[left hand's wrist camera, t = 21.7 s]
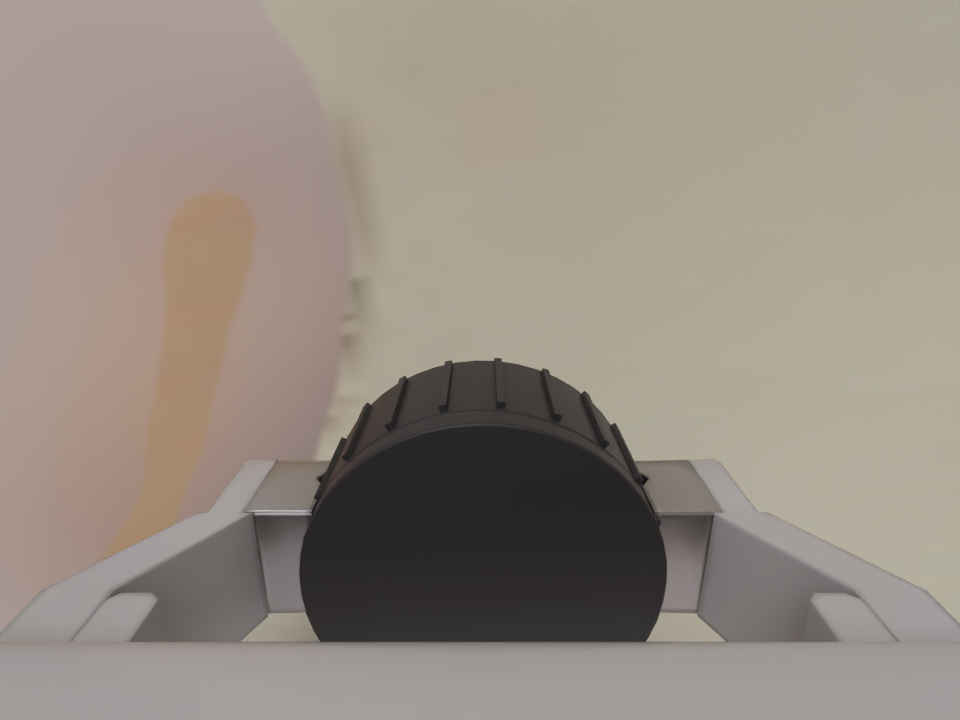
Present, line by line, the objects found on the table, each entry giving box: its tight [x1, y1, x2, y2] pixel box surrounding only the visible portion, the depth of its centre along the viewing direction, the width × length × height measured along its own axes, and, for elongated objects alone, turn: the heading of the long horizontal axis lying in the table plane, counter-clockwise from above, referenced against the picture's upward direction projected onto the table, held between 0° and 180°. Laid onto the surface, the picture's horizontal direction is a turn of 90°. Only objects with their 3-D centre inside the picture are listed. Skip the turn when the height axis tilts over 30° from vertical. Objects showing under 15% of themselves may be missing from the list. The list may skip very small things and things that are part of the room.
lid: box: [299, 358, 667, 642], centre depth 9 cm, size 5×5×2 cm
